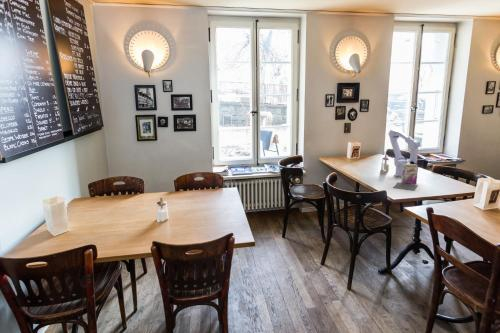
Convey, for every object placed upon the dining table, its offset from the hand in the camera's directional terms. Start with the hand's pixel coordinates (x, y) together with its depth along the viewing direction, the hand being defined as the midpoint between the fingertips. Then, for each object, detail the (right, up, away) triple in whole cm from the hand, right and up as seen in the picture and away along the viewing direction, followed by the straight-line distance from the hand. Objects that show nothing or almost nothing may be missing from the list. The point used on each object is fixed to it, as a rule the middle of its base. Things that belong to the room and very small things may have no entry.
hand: (412, 169), depth 284 cm
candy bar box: (-7, -12, -7) cm, 15 cm away
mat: (-15, -14, -17) cm, 27 cm away
